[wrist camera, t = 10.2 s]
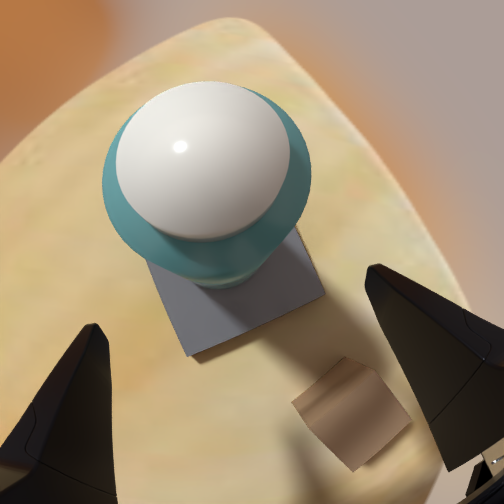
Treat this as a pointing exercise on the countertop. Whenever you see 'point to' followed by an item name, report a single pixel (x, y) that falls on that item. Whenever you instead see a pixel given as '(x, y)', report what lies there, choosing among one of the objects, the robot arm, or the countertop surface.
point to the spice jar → (207, 181)
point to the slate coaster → (238, 297)
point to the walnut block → (352, 412)
